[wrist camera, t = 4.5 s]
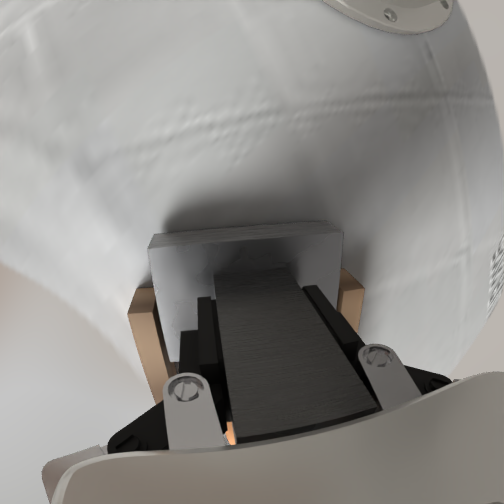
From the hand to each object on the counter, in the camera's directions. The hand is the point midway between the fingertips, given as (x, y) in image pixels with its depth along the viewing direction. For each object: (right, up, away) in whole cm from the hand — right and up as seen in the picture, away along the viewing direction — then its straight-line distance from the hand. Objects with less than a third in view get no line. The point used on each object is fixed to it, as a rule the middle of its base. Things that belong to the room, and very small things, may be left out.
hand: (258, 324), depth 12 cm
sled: (-1, 0, +4) cm, 4 cm away
